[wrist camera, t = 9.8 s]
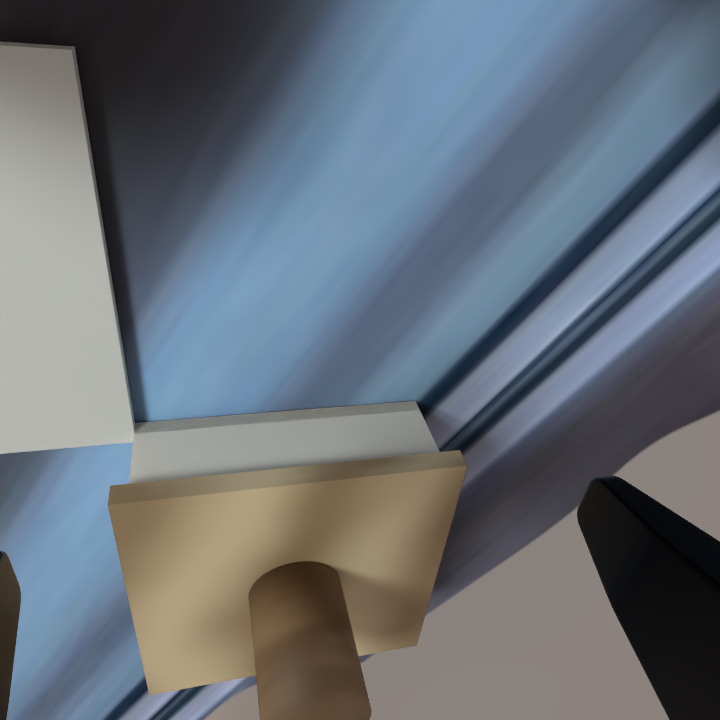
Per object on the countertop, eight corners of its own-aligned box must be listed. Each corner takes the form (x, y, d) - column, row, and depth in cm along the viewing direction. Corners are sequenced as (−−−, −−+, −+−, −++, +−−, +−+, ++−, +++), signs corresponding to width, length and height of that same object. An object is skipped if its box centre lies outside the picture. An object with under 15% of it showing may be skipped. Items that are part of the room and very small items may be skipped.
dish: (415, 400, 25) (443, 460, 22) (383, 563, 31) (402, 625, 28) (134, 422, 22) (128, 494, 19) (162, 595, 28) (160, 668, 26)
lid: (459, 449, 22) (532, 589, 17) (411, 629, 29) (454, 762, 24) (110, 485, 19) (87, 664, 14) (150, 676, 26) (143, 837, 21)
